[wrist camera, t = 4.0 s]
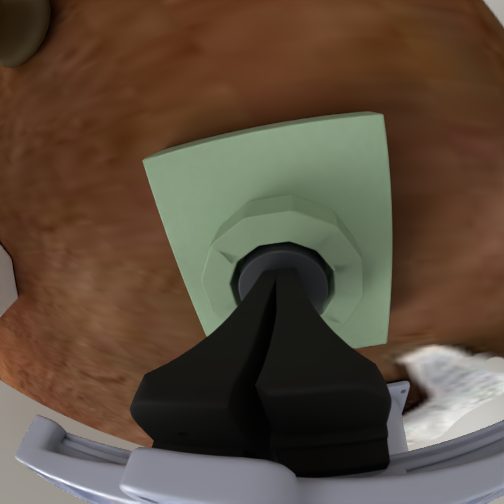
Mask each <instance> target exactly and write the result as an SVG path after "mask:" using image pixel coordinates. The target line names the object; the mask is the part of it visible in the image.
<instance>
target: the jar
mask: <svg viewBox="0 0 504 504" xmlns="http://www.w3.org/2000/svg"><path fill="white" fill-rule="evenodd" d="M17 299H18V294H17V289H16V283H15V278H14V272H13V265H12V259H11V257H10V256H9V255H8V253H7V252H6V251H5V250H4V248H3V247H2V246H1V244H0V317H1V316H2V315H3V314H4V312H5V311H6V310H7V309H8V308H9V307H10V306H11V305H12V304H13V303H14V302H15V301H16V300H17Z"/></svg>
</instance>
